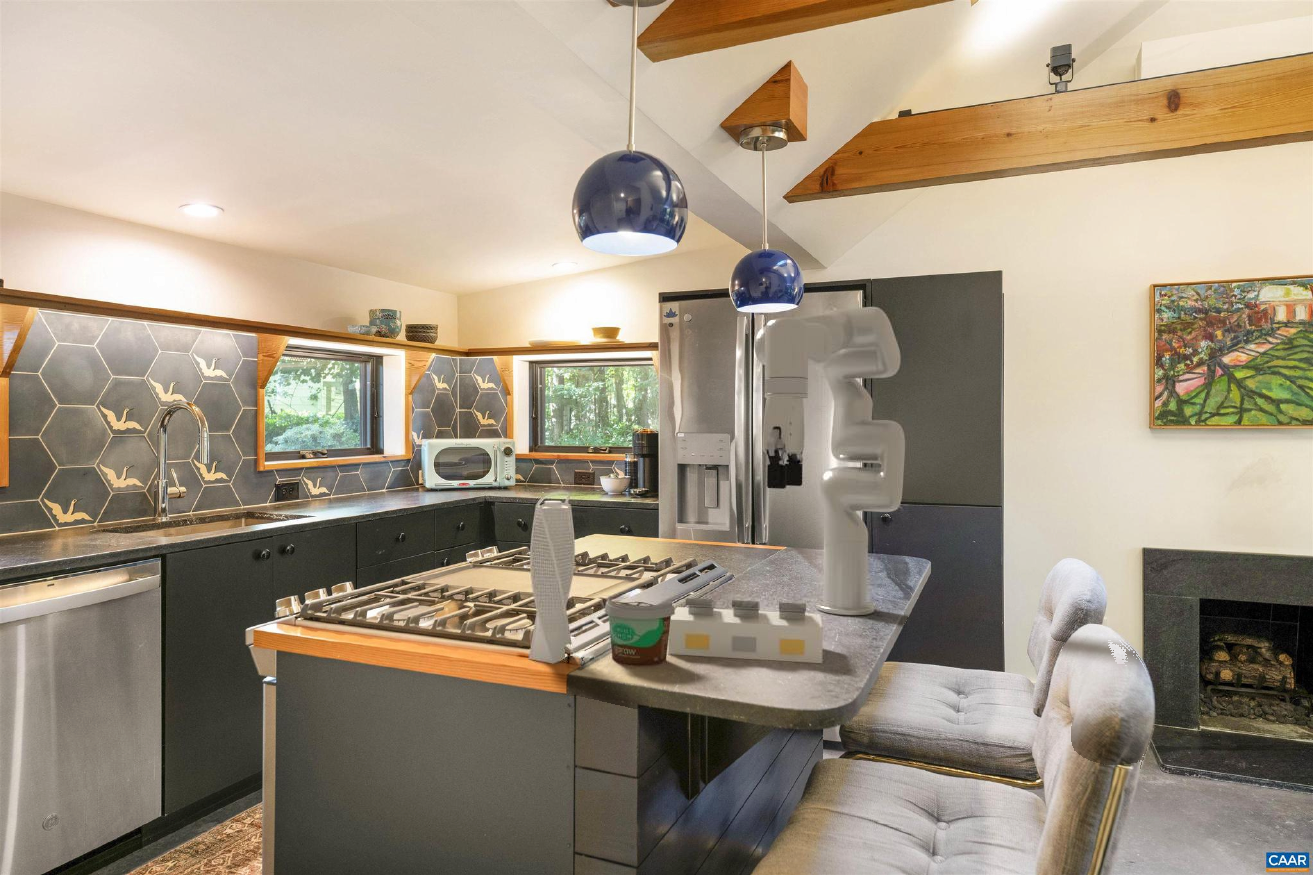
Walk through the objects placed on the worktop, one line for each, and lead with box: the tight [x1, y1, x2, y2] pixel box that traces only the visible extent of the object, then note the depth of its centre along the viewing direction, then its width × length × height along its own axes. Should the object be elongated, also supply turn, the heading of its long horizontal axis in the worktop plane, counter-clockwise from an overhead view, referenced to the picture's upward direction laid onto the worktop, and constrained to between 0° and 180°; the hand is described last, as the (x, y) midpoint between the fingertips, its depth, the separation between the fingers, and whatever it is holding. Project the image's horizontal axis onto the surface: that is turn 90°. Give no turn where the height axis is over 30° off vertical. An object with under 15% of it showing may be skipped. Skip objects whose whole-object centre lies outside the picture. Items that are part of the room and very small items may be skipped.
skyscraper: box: [528, 490, 576, 665], centre depth 128 cm, size 8×8×28 cm
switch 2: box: [731, 599, 761, 611], centre depth 133 cm, size 8×4×1 cm, turn 171°
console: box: [668, 606, 824, 664], centre depth 133 cm, size 10×26×7 cm, turn 80°
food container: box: [604, 596, 675, 667], centre depth 125 cm, size 12×6×10 cm, turn 70°
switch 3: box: [778, 601, 807, 613], centre depth 132 cm, size 8×4×1 cm, turn 171°
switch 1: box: [685, 597, 717, 609], centre depth 135 cm, size 8×4×1 cm, turn 171°
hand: (785, 486), depth 132 cm, fingers open, 9 cm apart
